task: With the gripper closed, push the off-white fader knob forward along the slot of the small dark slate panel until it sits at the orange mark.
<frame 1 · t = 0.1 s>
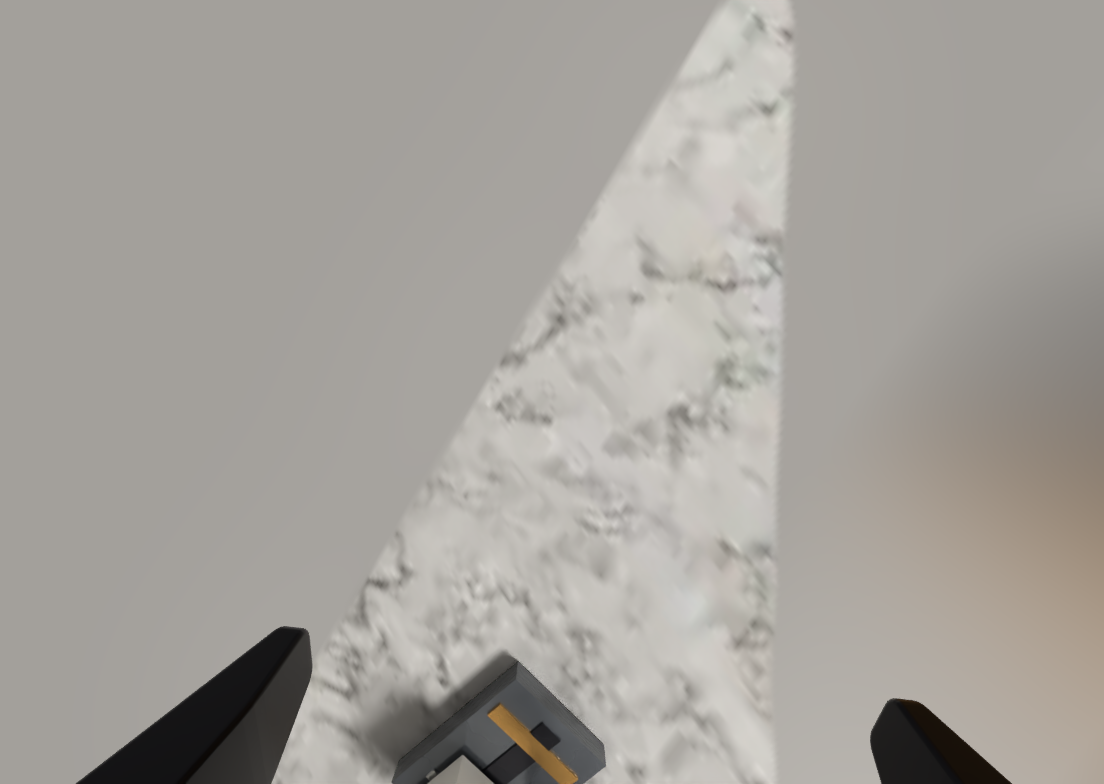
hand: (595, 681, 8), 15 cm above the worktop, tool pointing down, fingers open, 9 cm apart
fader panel: (500, 752, 26), on the worktop
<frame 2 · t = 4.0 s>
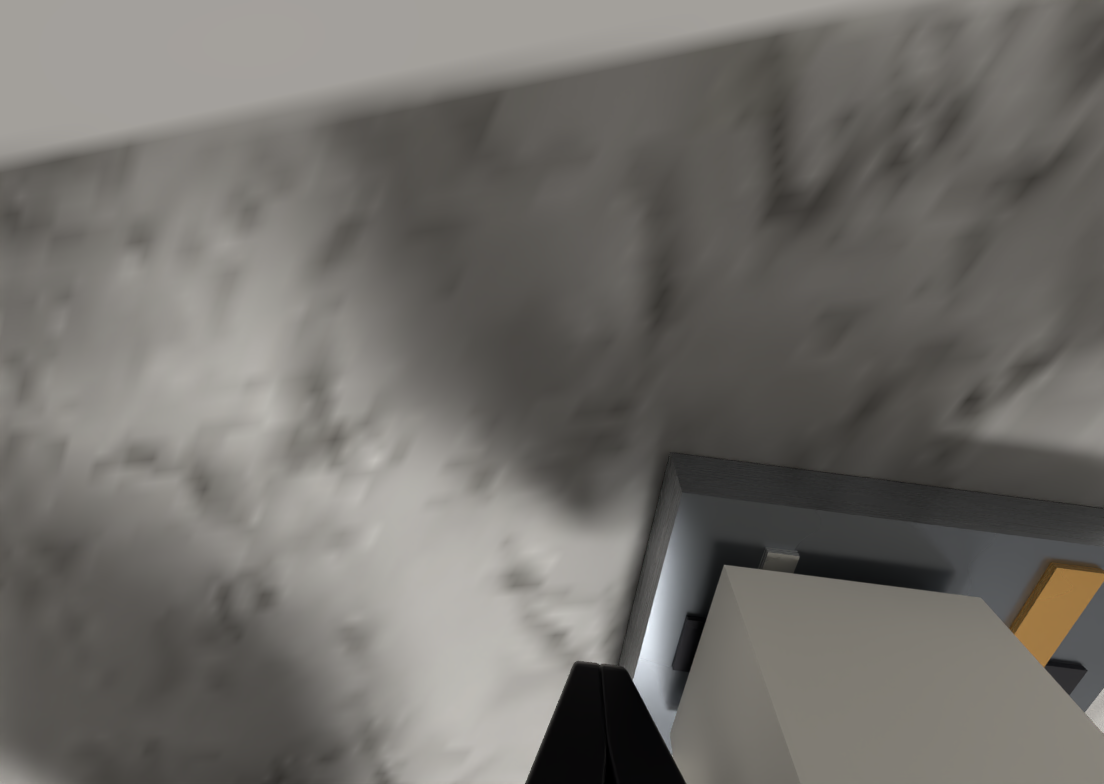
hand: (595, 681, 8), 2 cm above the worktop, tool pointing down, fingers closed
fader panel: (842, 612, 11), on the worktop
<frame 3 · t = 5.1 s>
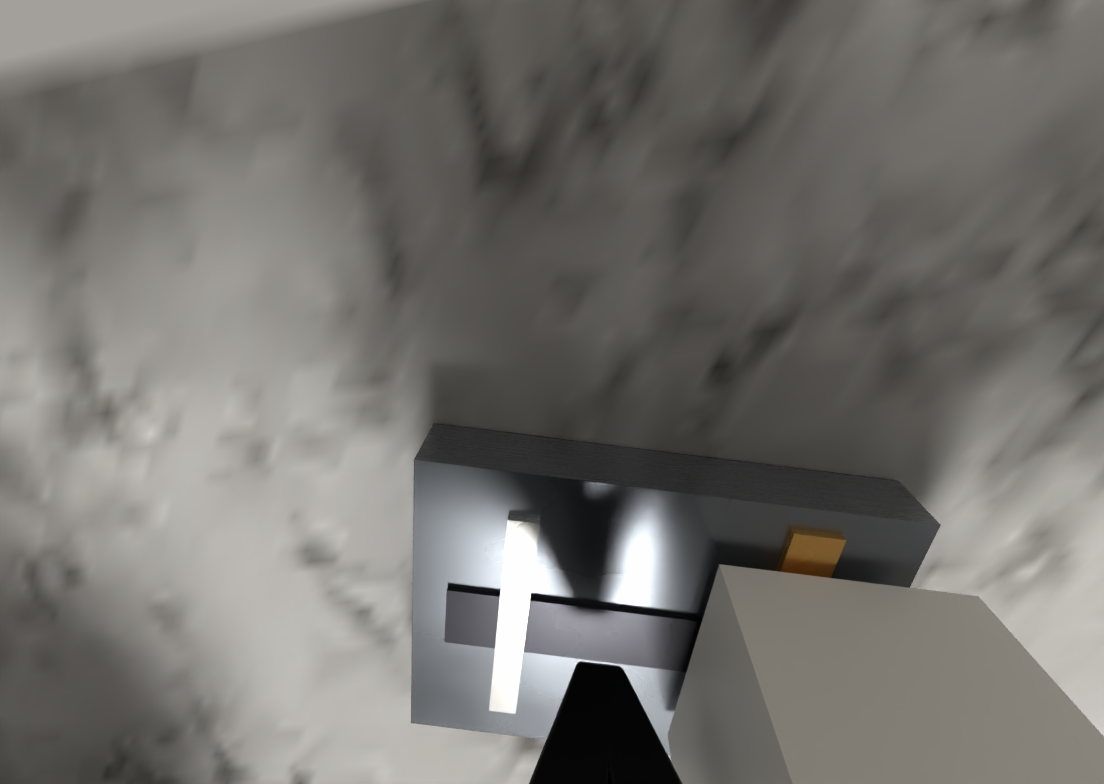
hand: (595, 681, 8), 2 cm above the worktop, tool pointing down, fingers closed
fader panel: (635, 586, 11), on the worktop
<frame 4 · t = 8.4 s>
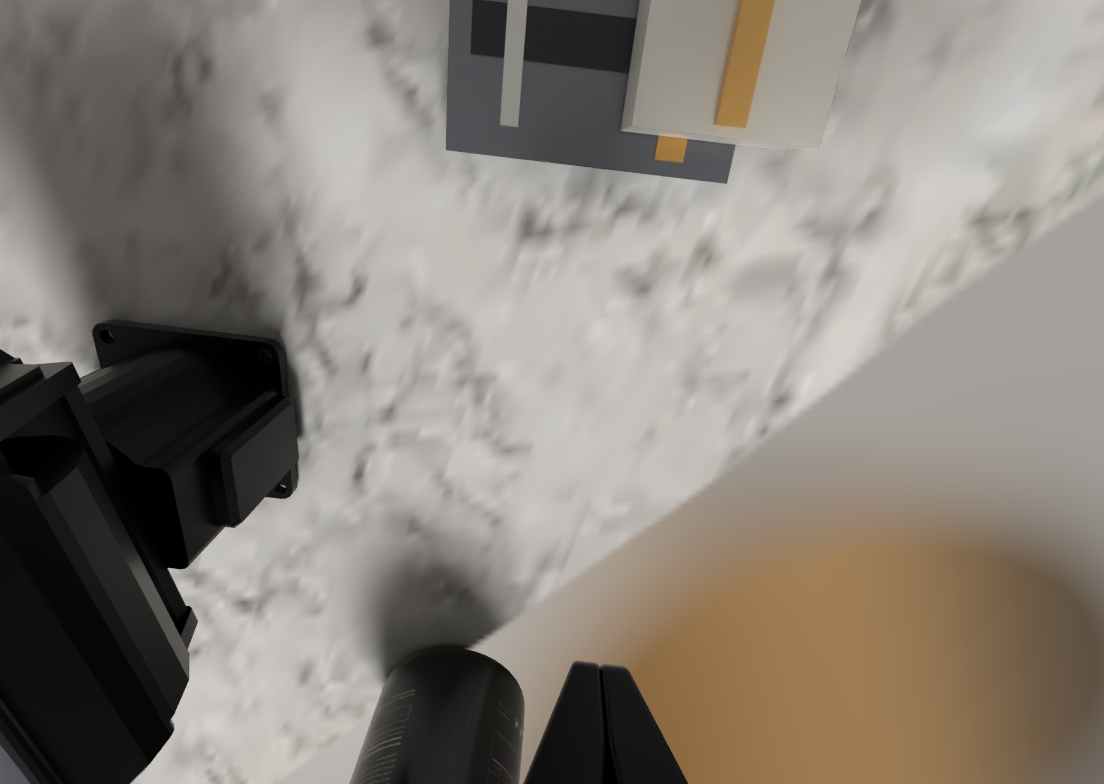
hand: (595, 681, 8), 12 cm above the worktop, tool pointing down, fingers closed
fader: (729, 40, 12), point 3 cm above the worktop, slide at 5.0 cm
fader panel: (600, 50, 15), on the worktop
supplement bottle: (458, 688, 27), on the worktop
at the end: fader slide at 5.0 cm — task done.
